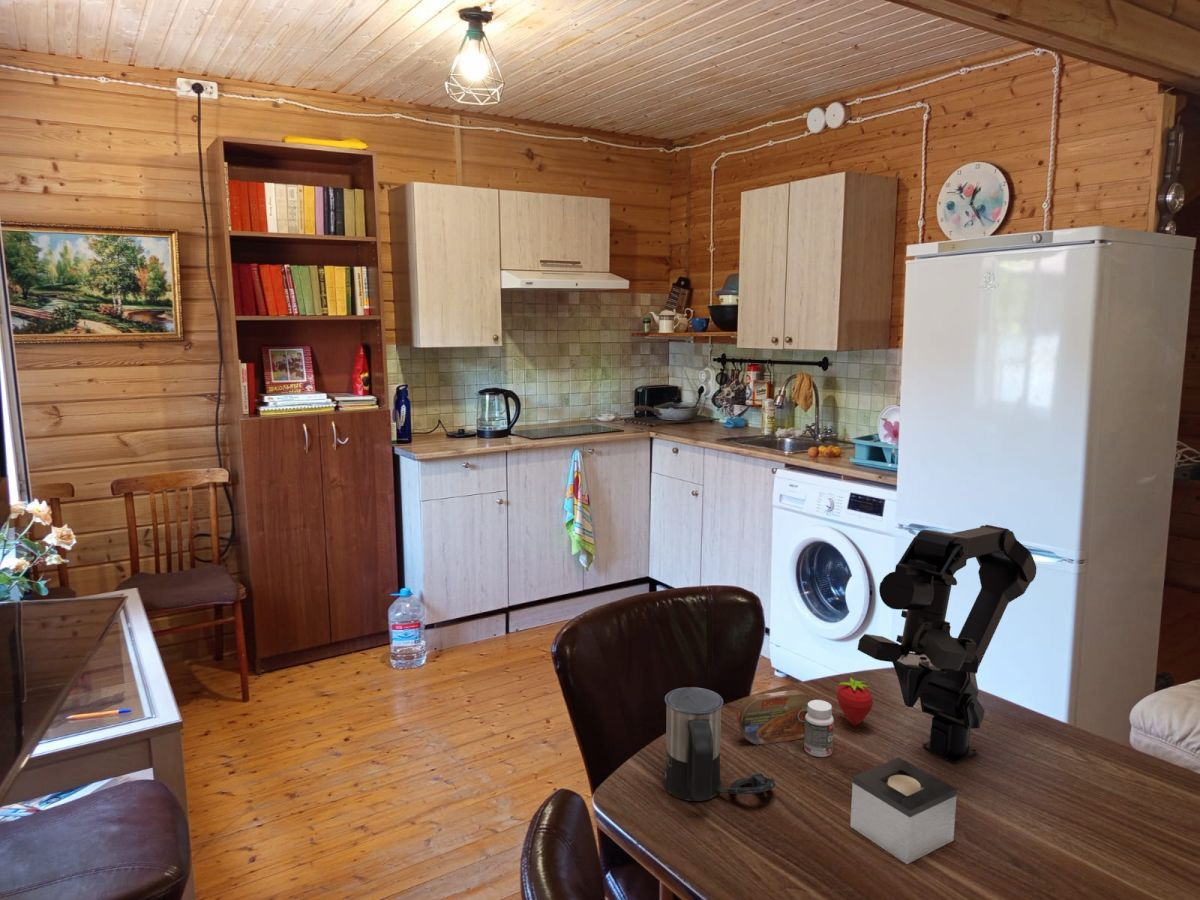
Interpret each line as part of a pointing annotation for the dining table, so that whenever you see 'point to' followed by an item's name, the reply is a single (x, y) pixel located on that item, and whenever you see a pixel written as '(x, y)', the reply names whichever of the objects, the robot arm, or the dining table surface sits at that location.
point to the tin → (774, 717)
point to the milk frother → (699, 748)
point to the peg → (904, 784)
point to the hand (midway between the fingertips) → (908, 706)
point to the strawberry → (854, 700)
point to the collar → (903, 811)
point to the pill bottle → (819, 729)
